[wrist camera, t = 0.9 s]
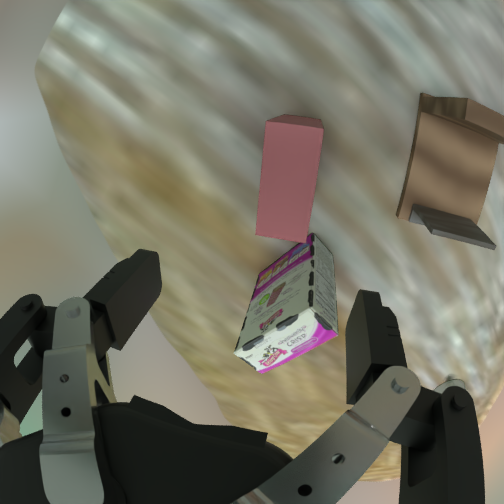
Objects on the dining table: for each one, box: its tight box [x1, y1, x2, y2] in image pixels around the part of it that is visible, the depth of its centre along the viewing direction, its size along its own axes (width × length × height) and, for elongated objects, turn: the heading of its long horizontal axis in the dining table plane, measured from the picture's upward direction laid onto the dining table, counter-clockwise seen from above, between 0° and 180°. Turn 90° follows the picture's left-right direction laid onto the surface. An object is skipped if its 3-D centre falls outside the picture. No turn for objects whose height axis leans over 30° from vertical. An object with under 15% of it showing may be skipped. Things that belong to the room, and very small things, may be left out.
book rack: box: [396, 93, 504, 250], centre depth 25 cm, size 17×13×13 cm
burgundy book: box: [255, 114, 324, 243], centre depth 29 cm, size 10×4×14 cm, turn 175°
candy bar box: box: [234, 233, 338, 374], centre depth 36 cm, size 11×5×16 cm, turn 137°
